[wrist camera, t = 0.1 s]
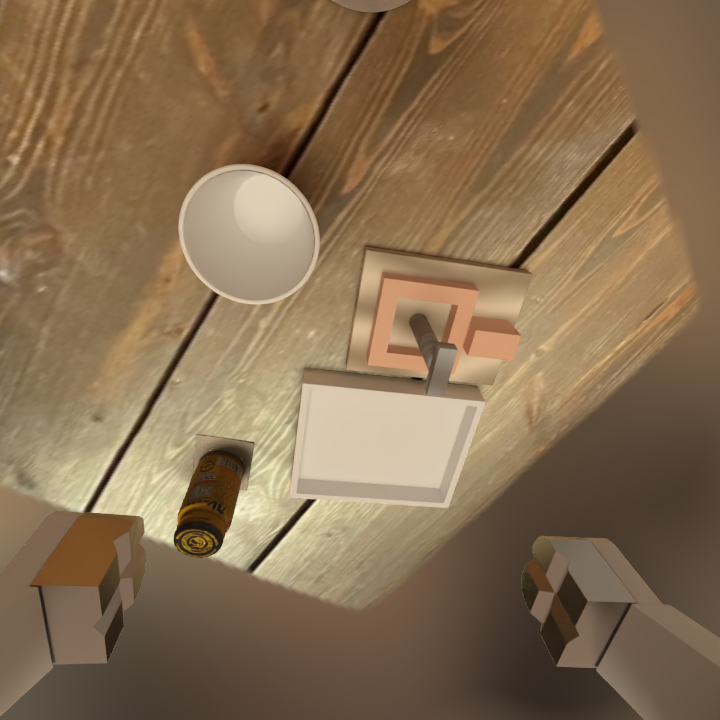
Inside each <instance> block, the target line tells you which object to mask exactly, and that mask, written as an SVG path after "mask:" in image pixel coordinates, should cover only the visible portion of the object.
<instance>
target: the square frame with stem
mask: <svg viewBox="0 0 720 720" xmlns="http://www.w3.org/2000/svg"><path fill="white" fill-rule="evenodd" d="M479 292H480V291H479V290H478V289H477V288H476V287H475V285H472V284H464V283H457V282H450V281H443V280H436V279H429V278H422V277H414V276H407V275H400V274H393V273H386V272H382V276H381V281H380V287H379V292H378V297H377V302H376V308H375V313H374V318H373V323H372V329H371V334H370V339H369V344H368V350H367V355H366V359H367V364H368V365H371V366H381V367H390V368H399V369H408V370H417V371H426V372H429V371H428V368H427V366H426V363H425V361H424V359H423V356H422V354H421V351H420V349H419V348H412V347H403V346H394V345H388V344H389V339H390V335H391V330H392V325H393V321H394V316H395V311H396V307H397V302H398V297H400V298H407V299H415V300H422V301H430V302H437V303H445V304H452V305H451V309H450V313H449V316H448V320H447V323H446V327H445V330H444V334H443V338H442V341H441V342H444V343H452V344H455V346H456V348H457V349H458V351H457V355H456V358H455V361H454V365H453V368H452V371H451V374H455V370H456V367H457V364H458V361H459V357H460V354H461V351H462V348H463V349H464V350H465V352H466V354H467V355H468V356H474V357H482V358H491V359H500V360H508V361H512V360H513V358H514V355H515V352H516V349H517V347H518V344H519V341H520V339H521V335H520V334H519V332H518V331H517V330H516V329H515V328H514V327H513V326H512V325H511V324H510V323H509V322H508V321H507V320H500V319H492V318H484V317H477V316H472V315H473V312H474V308H475V305H476V302H477V299H478V295H479Z"/></svg>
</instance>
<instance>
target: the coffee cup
mask: <svg viewBox="0 0 720 720" xmlns="http://www.w3.org/2000/svg"><path fill="white" fill-rule="evenodd" d="M215 176H216V177H215ZM208 180H209V181H208ZM207 181H208V182H207ZM204 183H205V184H204ZM203 184H204V185H203ZM199 188H200V189H199ZM198 189H199V190H198ZM197 190H198V191H197ZM192 197H193V198H192ZM191 199H192V200H191ZM190 201H191V202H190ZM186 211H187V212H186ZM179 238H180V243H181V247H182V250H183V253H184V256H185V258H186V260H187V262H188V264H189V265H190V267H191V268H192V270H193V271H194V273H195V274H196V275H197V276H198V278H199V279H200V280H201V281H202V282H203V283H204V284H205V285H207V286H208V287H209V288H210V289H212V290H213V291H215V292H216V293H218V294H220V295H221V296H223V297H225V298H228V299H230V300H233V301H236V302H240V303H246V304H268V303H272V302H276V301H279V300H282V299H284V298H286V297H288V296H290V295H291V294H293V293H294V292H296V291H297V290H298V289H299V288H300V287H302V286H303V284H304V283H305V282H306V281H307V280H308V278H309V277H310V275H311V274H312V272H313V270H314V267H315V265H316V262H317V259H318V255H319V248H320V235H319V228H318V223H317V220H316V217H315V214H314V212H313V210H312V208H311V206H310V204H309V202H308V201H307V199H306V198H305V196H304V195H303V194H302V193H301V191H300V190H299V189H298V188H297V187H296V186H295V185H294V184H293V183H291V182H290V181H289V180H288V179H286V178H285V177H283V176H282V175H280V174H278V173H276V172H274V171H272V170H270V169H267V168H265V167H261V166H257V165H252V164H232V165H227V166H223V167H220V168H217V169H215V170H213V171H211V172H209V173H207V174H206V175H204V176H203V177H202V178H200V179H199V180H198V181H197V182H196V183H195V184H194V185H193V186H192V188H191V189H190V190H189V192H188V194H187V195H186V197H185V199H184V201H183V204H182V207H181V210H180V215H179ZM313 251H314V253H313ZM312 257H313V258H312ZM310 263H311V264H310ZM309 265H310V266H309ZM288 290H289V291H288Z"/></svg>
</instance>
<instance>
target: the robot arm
mask: <svg viewBox="0 0 720 720" xmlns="http://www.w3.org/2000/svg"><path fill="white" fill-rule="evenodd" d="M331 1H333V2H335V3H336V4H338V5H340V6H343V7H345V8H348V9H351V10H355V11H360V12H383V11H388V10H391V9H394V8H397V7H400V6H402V5H404V4H406V3H408V2H409V1H411V0H331ZM143 534H144V522H143V518H141V517H140V516H128V515H115V514H101V513H88V512H85V513H79V512H67V511H55V512H54V513H52V514H50V515H49V516H48V517H47V518H46V519H45V520H44V521H43V523H42V524H41V525H40V526H39V527H38V529H37V530H36V531H35V532H34V534H33V535H32V536H31V538H30V539H29V540H28V541H27V542H26V543H25V545H24V546H23V547H22V548H21V550H20V551H19V552H18V553H17V555H16V556H15V557H14V558H13V560H12V561H11V562H10V564H9V565H8V566H7V567H6V568H5V569H4V571H3V572H2V573H1V574H0V716H1V715H2V714H3V713H4V712H5V711H6V710H8V708H10V707H11V706H12V705H13V704H14V703H15V702H16V701H17V700H18V699H19V698H21V697H22V696H23V695H24V694H25V693H26V692H27V691H28V690H29V689H30V688H31V687H32V686H33V685H35V684H36V683H37V682H38V681H39V680H40V679H41V678H42V677H43V676H44V675H45V674H47V673H48V672H49V671H50V670H51V669H52V668H53V665H52V664H90V663H107V662H108V660H109V658H110V656H111V654H112V651H113V649H114V647H115V645H116V642H117V640H118V638H119V635H120V633H121V631H122V629H123V627H124V621H123V611H124V610H125V609H127V608H128V607H129V606H130V605H132V604H133V603H134V601H135V599H136V597H137V594H138V592H139V590H140V587H141V583H142V579H143V576H144V572H145V563H146V551H145V549H144V548H143V547H142V546H141V545H140V543H139V542H140V540H141V538H142V536H143ZM532 552H533V553H534V556H535V558H534V559H533V560H531V561H530V562H529V563H528V564H527V565H525V568H524V572H523V574H522V592H523V596H524V600H525V603H526V605H527V607H528V609H529V611H530V613H531V614H532V615H533V616H535V617H536V618H537V619H538V620H539V621H540V622H542V626H541V631H540V634H541V636H542V638H543V640H544V642H545V644H546V646H547V648H548V651H549V652H550V655H551V657H552V659H553V661H554V663H555V665H556V666H560V667H584V668H597V669H596V670H597V672H598V673H599V674H600V675H601V676H602V677H603V678H604V679H605V680H606V681H607V682H608V683H609V684H610V685H611V686H612V687H613V688H614V689H615V690H616V691H617V692H618V693H619V694H620V695H621V696H622V697H623V698H624V699H625V700H626V701H627V702H628V703H629V704H630V705H631V706H632V707H633V708H634V709H635V711H637V712H638V714H640V716H642V718H643V719H644V720H720V638H718V637H717V636H715V635H714V634H712V633H711V632H709V631H708V630H706V629H705V628H703V627H702V626H700V625H699V624H697V623H696V622H694V621H693V620H691V619H690V618H688V617H687V616H685V615H684V614H682V613H681V612H679V611H678V610H676V609H675V608H673V607H672V606H670V605H663V604H662V603H661V602H660V601H659V599H658V598H657V597H656V596H655V594H654V593H653V592H652V591H651V589H650V588H649V587H648V586H647V584H646V583H645V582H644V581H643V579H642V578H641V577H640V576H639V575H638V573H637V572H636V571H635V570H634V568H633V567H632V566H631V565H630V563H629V562H628V561H627V560H626V558H625V557H624V556H623V555H622V553H621V552H620V551H619V550H618V548H617V547H616V546H615V545H614V544H613V543H612V542H610V541H609V540H607V539H604V538H573V537H546V536H540V537H539V538H538V539H537V540H536V541H535V543H534V545H533V548H532Z"/></svg>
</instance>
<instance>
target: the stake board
mask: <svg viewBox="0 0 720 720" xmlns="http://www.w3.org/2000/svg"><path fill="white" fill-rule="evenodd" d="M382 272H386V273H393V274H400V275H407V276H414V277H422V278H429V279H436V280H443V281H450V282H457V283H464V284H472V285H475V287H476V288H477V289H478V290H479V291H480V292H479V295H478V299H477V302H476V305H475V308H474V312H473V315H472V316H477V317H484V318H492V319H500V320H507V321H508V322H509V323H510V324H511V325H512V326H513V327H514V325H515V322H516V320H517V317H518V314H519V311H520V308H521V306H522V303H523V300H524V297H525V295H526V292H527V289H528V286H529V283H530V281H531V278H532V275H533V274H531V273H530V272H529V271H527V270H522V269H515V268H508V267H502V266H495V265H488V264H481V263H474V262H468V261H461V260H454V259H447V258H440V257H434V256H427V255H420V254H413V253H407V252H400V251H393V250H386V249H379V248H373V247H366V246H365V252H364V258H363V264H362V270H361V276H360V282H359V288H358V293H357V299H356V305H355V311H354V317H353V323H352V329H351V335H350V341H349V347H348V353H347V359H346V370H353V371H363V372H372V373H381V374H391V375H400V376H409V377H419V378H427V379H426V383H425V387H424V389H425V391H426V394H427V395H431V396H441V397H444V395H445V391H446V388H447V385H448V381H456V382H466V383H475V384H484V385H493V384H494V381H495V378H496V375H497V372H498V370H499V367H500V364H501V361H502V360H500V359H491V358H482V357H474V356H468V355H467V354H466V352H465V350H464V349H463V348H462V351H461V354H460V357H459V361H458V364H457V367H456V370H455V374H451V371H452V368H453V365H454V361H455V358H456V355H457V351H458V349H457V348H456V346H455V344H452V343H444V342H441V341H442V338H443V334H444V330H445V327H446V323H447V320H448V316H449V313H450V309H451V305H452V304H445V303H437V302H430V301H422V300H415V299H407V298H400V297H398V302H397V307H396V311H395V316H394V321H393V325H392V330H391V335H390V339H389V344H388V345H394V346H403V347H412V348H419V349H420V351H421V354H422V356H423V359H424V361H425V363H426V366H427V368H428V371H429V372H426V371H417V370H408V369H399V368H390V367H381V366H371V365H368V364H367V359H366V355H367V350H368V344H369V339H370V334H371V329H372V323H373V318H374V313H375V308H376V302H377V297H378V292H379V287H380V281H381V276H382Z"/></svg>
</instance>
